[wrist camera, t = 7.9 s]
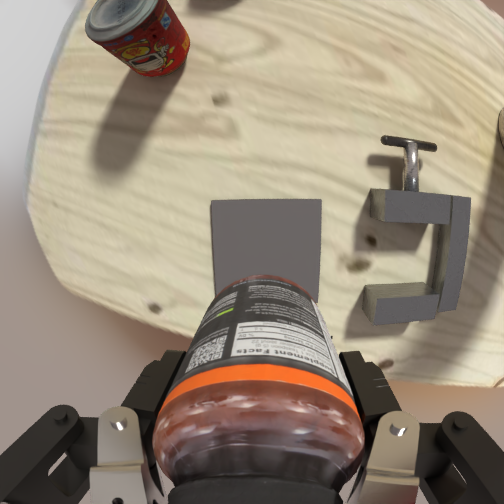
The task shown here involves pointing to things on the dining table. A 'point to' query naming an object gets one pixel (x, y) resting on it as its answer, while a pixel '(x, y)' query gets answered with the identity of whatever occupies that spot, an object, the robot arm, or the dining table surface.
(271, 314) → the supplement bottle
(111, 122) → the dining table surface
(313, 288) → the mat
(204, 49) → the dining table surface
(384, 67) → the dining table surface
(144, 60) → the soda can
